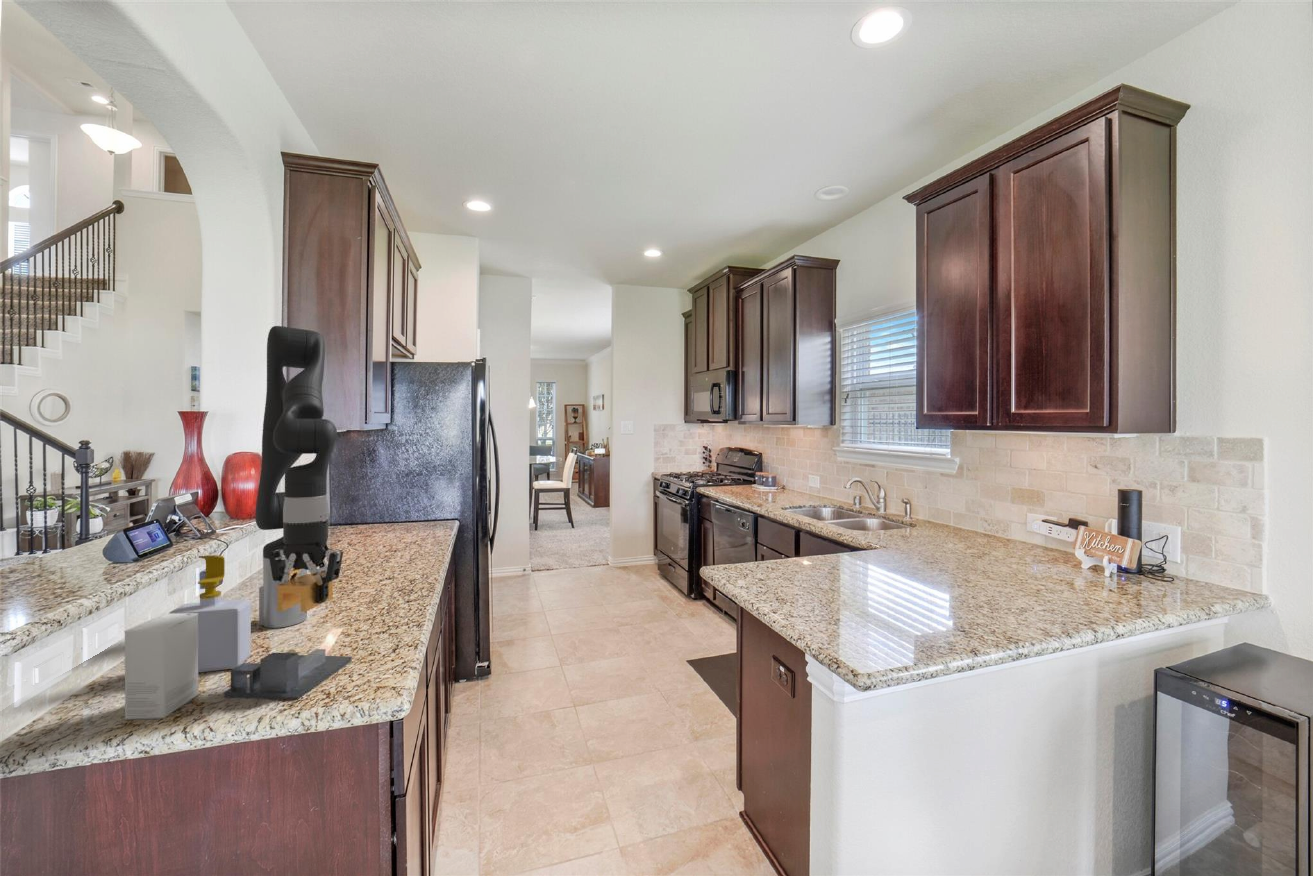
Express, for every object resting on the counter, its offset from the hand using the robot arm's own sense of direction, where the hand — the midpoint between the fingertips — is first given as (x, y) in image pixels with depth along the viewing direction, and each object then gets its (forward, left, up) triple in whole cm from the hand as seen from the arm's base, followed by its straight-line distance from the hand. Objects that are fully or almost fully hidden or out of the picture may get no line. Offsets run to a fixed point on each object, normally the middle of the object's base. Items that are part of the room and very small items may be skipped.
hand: (306, 601), depth 106 cm
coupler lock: (0, 0, -1) cm, 1 cm away
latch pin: (-7, +2, -14) cm, 16 cm away
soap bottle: (-23, +3, -15) cm, 27 cm away
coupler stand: (-2, -1, -15) cm, 15 cm away
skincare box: (-17, -13, -15) cm, 26 cm away
